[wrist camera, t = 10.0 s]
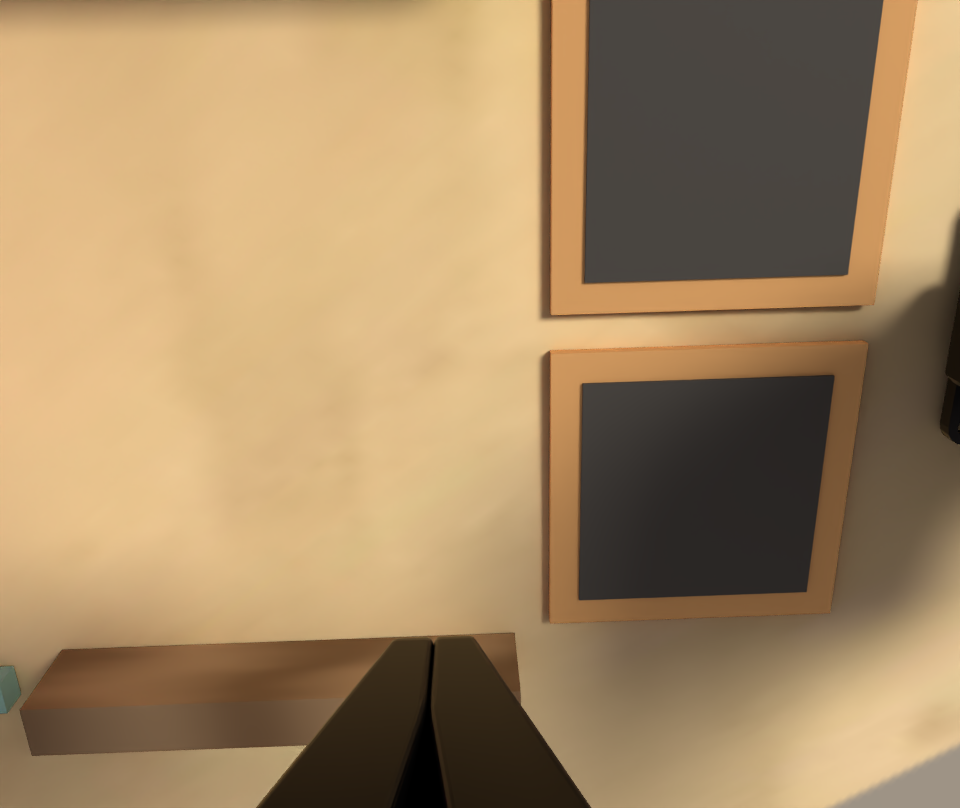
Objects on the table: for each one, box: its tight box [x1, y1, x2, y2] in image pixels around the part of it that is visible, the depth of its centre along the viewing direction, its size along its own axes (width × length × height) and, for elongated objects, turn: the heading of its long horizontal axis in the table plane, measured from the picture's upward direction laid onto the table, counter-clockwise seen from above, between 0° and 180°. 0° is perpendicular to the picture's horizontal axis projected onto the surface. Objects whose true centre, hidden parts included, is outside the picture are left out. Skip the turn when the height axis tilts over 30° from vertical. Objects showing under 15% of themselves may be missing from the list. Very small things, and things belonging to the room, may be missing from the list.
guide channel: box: [20, 633, 521, 756], centre depth 20 cm, size 13×21×2 cm, turn 2°
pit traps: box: [549, 0, 918, 623], centre depth 21 cm, size 8×17×1 cm, turn 2°
